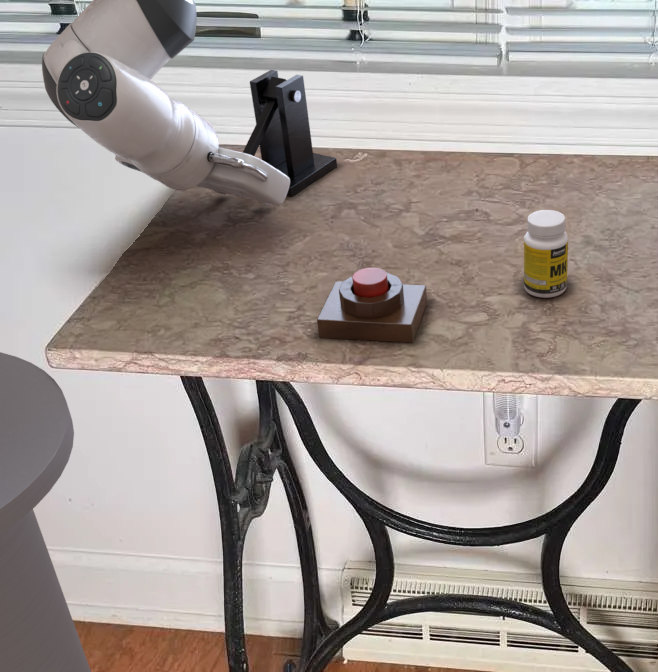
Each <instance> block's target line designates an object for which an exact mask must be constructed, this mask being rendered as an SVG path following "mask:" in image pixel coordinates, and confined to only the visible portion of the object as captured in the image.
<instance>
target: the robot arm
mask: <svg viewBox="0 0 658 672" xmlns="http://www.w3.org/2000/svg"><path fill="white" fill-rule="evenodd" d="M197 16H198V15H197V5H196V2H195V1H194V0H92V1H90V3H88V5H87V6H86V7H85V8H84V9H83V11H81V12H80V14H79V15H78V16H77V17H76V18H75V19H74V20H73V21H72V22H70V23H69V24H68V25H67V26H66V28H65V29H64V30H63V31H61V33H60V34H58V36H57V37H56V38H55V40H53V42H52V43H51V44H50V45H49V46H48V47H47V49H46V51H45V52H44V53H43V54H42V57H41V71H42V77H43V78H42V79H43V85H44V88H45V91H46V94H47V95H48V98H49V99H50V101H51V103H52V104H53V106H54V107H55V108H56V109H57V110H58V112H59V113H60V114H61V115H63V116H64V118H66V120H67V121H68V122H70V123H71V124H73V126H75V127H77V128H78V129H80V130H81V131H82V132H83V133H84V134H86V135H87V136H88V137H89V138H90V139H92V140H93V141H94V142H96V143H97V144H98V145H100V146H101V147H103V148H104V149H105V150H107V151H108V152H110V153H112V154H113V155H114V156H115V157H114V160H115V161H116V162H117V163H119V164H120V165H122V166H124V167H127V168H128V169H131V170H134V171H137V172H139V173H140V172H141V173H143V174H144V175H146V176H148V177H149V178H151V179H153V180H155V181H157V182H158V183H160V184H162V185H164V186H165V187H167V188H169V189H171V190H174V191H186V190H189V189H192V188H194V187H199V188H201V189H207V190H212V191H213V192H214V193H217V194H221V195H231V196H234V197H239V198H242V199H245V200H250V201H255V202H257V203H258V204H261V205H265V206H275V207H281V206H282V205H283V204H284V202H285V200H286V198H287V196H286V195H287V193H288V190H289V186H290V179H289V177H288V176H287V175H285V174H284V173H282V172H281V171H279V170H278V169H276V168H274V167H273V166H271V165H270V164H268V163H266V162H265V161H263V160H262V158H259V157H258V156H257V157H256V156H255V155H254V156H252V155H249V154H246V153H243V151H237V150H233V149H230V148H225V147H220V143H219V136H218V134H217V131H216V130H215V128H214V126H213V125H212V124H211V123H210V122H209V121H208V120H206V119H205V118H204V117H202V116H201V115H199V114H198V113H197V112H195V111H194V110H193V109H191V108H190V107H189V106H187V105H186V104H185V103H183V102H181V101H180V100H178V99H175V98H172V97H170V96H169V95H168V93H167V92H166V91H165V90H164V89H163V88H162V86H160V85H158V84H157V83H156V82H154V81H153V80H152V79H153V78H154V77H155V76H156V74H158V72H159V71H161V69H162V68H163V67H164V66H165V65H166V64H167V63H168V62H169V61H170V60H173V59H174V58H175V57H177V56H178V55H179V54H180V53H181V52H182V51H183V50H185V49H187V47H189V46H190V44H192V43H193V42H194V41H195V37H196V32H197V21H198V20H197Z"/></svg>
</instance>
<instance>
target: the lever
mask: <svg viewBox="0 0 658 672" xmlns="http://www.w3.org/2000/svg"><path fill="white" fill-rule="evenodd" d="M286 80H287V78H282V77H279V76H278V77H273V76H272V77H271V79H270V81H269V83H268V85H267V87H266V89H265V91H264V93H263V96H264V98H265V99H266V100H267V101H268V102H267V104H266V106H265V108H264V110H263V112H262V114H261V116H260V118H259V120H258V122H257V124H256V123H255V126H254V128H253V130H252V132H251V133H250V136H249V139H248V141H247V142H246V144H245V147H244V148H243V149H242V150H243V151H242V153H246V154H249V155H252V156H255V155H256V153H257V151H258V149H259V148H260V143H261V141H262V139H263V137H264V135H265V133H266V131H267V129H268V127H269V125H270V123H271V120H272V118H273V116H274V114H275V112H276V110H277V108H278V102H277V95H276V88H275V87H276V86H277V85H279V84H281V83H283V82H284V81H286Z"/></svg>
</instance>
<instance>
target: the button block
mask: <svg viewBox="0 0 658 672" xmlns="http://www.w3.org/2000/svg"><path fill="white" fill-rule="evenodd" d="M386 273H387V279H388V292H387V293H385V294H383V295H381V296H377V297H372V298H366V297H359V296H357V295H355V293H354V288H353V279H352V277H353V275H352V276H350V277H348V278H347V279H345V280H343V281H342V280H341V281H340V280H336V281H335V282H334V284H333V285H332V288H331V290H330V292H329V294H328V296H327V298H326V300H325V302H324V305H323V307H322V308H321V310H320V312H319V314H318V316H317V318H316V324H317V329H318V330H317V331H318V337H319V338H323V339H341V340H359V341H375V342H377V341H378V342H392V343H393V342H395V343H414V341H415V337H416V335H417V332H418V329H419V326H420V324H421V321H422V318H423V315H424V312H425V310H426V307H427V304H428V295H427V285H424V284H423V285H422V284H404V283H402V281H401V280H400V278H399V276H397V275H394V274H392V273H389V272H386Z"/></svg>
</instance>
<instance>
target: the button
mask: <svg viewBox="0 0 658 672" xmlns="http://www.w3.org/2000/svg"><path fill="white" fill-rule="evenodd" d="M387 273H388V272H386V271H385V269H382V268H380V267H365V268H361V269H359V270H356V271H355V272H354V273H353V274H352V276H353V277H352V276H351V277H352V279H353V288H354V293H355V295H357V296H359V297H366V298H372V297H377V296H381V295H383V294H385V293H387V292H388V279H387Z"/></svg>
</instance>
